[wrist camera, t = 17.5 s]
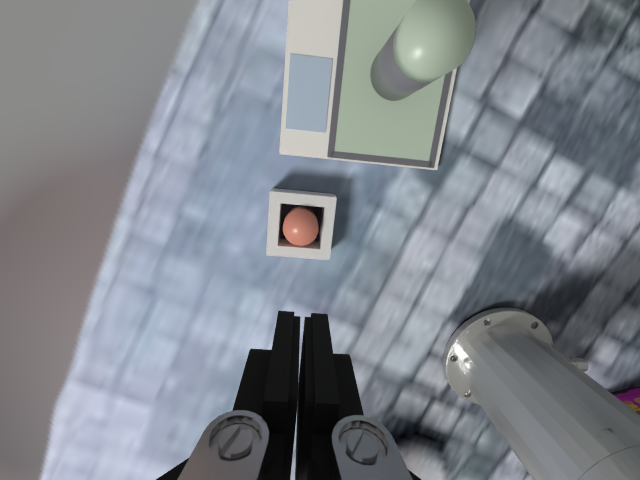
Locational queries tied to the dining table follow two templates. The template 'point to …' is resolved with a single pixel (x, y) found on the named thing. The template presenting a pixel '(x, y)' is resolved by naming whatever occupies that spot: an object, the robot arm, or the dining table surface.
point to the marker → (424, 47)
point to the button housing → (307, 199)
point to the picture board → (354, 89)
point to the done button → (300, 226)
